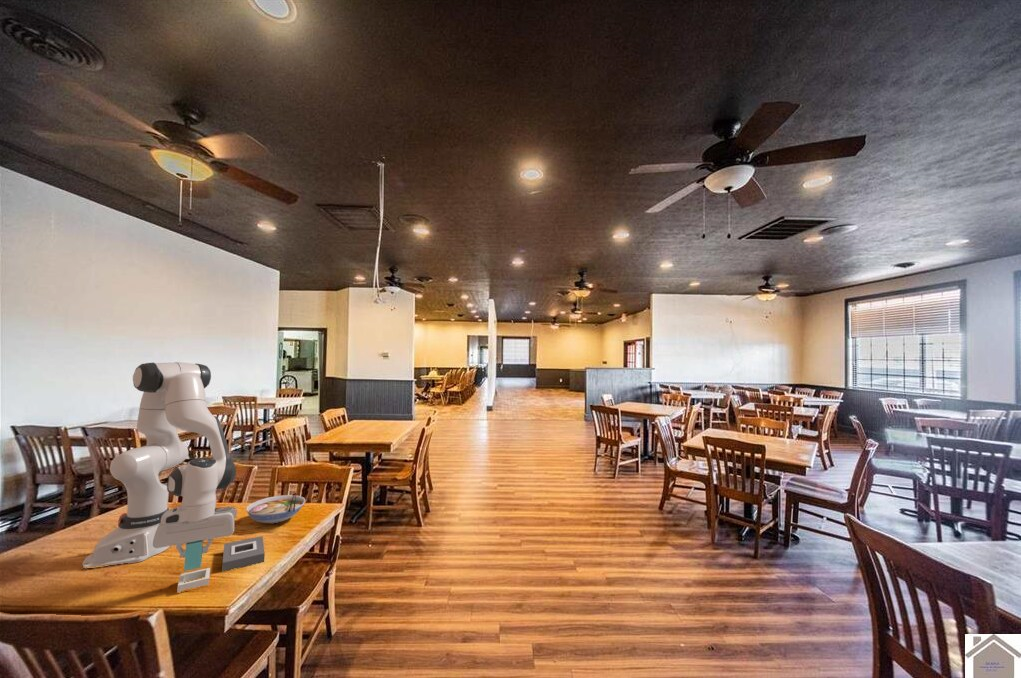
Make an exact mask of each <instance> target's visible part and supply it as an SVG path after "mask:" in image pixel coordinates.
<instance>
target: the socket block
mask: <svg viewBox="0 0 1021 678" xmlns="http://www.w3.org/2000/svg"><path fill="white" fill-rule="evenodd" d="M263 537H264V536H263V535H261V536H256V537H255V536H254V537H251V538H246V539H240V540H236V541H232V542H231V541H230V542H227V543H224V544H223V556H222V567H221V569H222V570H221V572H222V571H224V572H226V571H225V570H228V571H231V569H233V570H235V569H234V568H237V569H240V568H239V567H241V568H245V567H249V566H253V565H252V564H254V565H256V563H258V564H262V563H265V554H266V553H265V552H266V551H265V546H264V538H263ZM261 562H262V563H261ZM248 565H249V566H248ZM244 566H245V567H244Z"/></svg>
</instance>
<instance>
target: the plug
mask: <svg viewBox="0 0 1021 678" xmlns="http://www.w3.org/2000/svg"><path fill="white" fill-rule="evenodd" d="M203 546H204V540H201V541H195V542H190V543H185V549H186V553H185V557H184V566H183V567H184V568H183V571H184V572H186V571H187V572H188V571H191V570H196V569H201V567H202V561H203V560H202V559H203V554H202V547H203Z"/></svg>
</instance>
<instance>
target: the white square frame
mask: <svg viewBox="0 0 1021 678" xmlns="http://www.w3.org/2000/svg"><path fill="white" fill-rule="evenodd" d="M210 575H211V567H207V568H202V569H201V568H200V569H199V570H193V571H189V572H188V571H187V572H185V573H184V572H183V573H181V574H180V576H179V580H178V584H177V591H176V594H177V593H178V592H181V591H183V590H186V589H191V588H196V587H200V586H205V585H208V586H209V584H210ZM202 577H205V578H202ZM198 578H202V579H198ZM195 579H197V580H195ZM191 580H193V581H191ZM187 581H189V582H187ZM184 582H185V583H184Z"/></svg>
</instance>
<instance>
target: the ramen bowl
mask: <svg viewBox="0 0 1021 678" xmlns="http://www.w3.org/2000/svg"><path fill="white" fill-rule="evenodd" d="M305 503H306V499H305V497H303V496H300V495H297V493H296V492H294V493H293V494H289V495H286V494H285V495H283V494H282V495H275V496H269V497H265V498H261V499H258V500H256V501H254V502H252V503H249V505H247V506H246V507H245V508H246V512H247V514H248V516H250V518H251V519H252V520H253V521H256V522H257V523H263V524H268V523H269V524H270V525H275V524H274V523H276V524H279V522H280V523H282V522H284V521H287V520H289V519H291V518H293V517H294V516H295V515H297V513H298V512H299V511H300V510H301V509H302V508H303V506H304V504H305Z"/></svg>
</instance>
